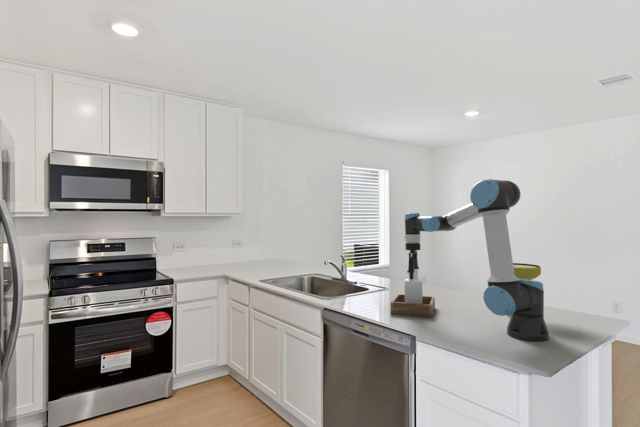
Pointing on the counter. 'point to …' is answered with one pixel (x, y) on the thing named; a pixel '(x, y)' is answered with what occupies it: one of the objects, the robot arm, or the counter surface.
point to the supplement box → (413, 292)
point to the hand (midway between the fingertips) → (413, 283)
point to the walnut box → (413, 306)
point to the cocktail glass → (526, 271)
